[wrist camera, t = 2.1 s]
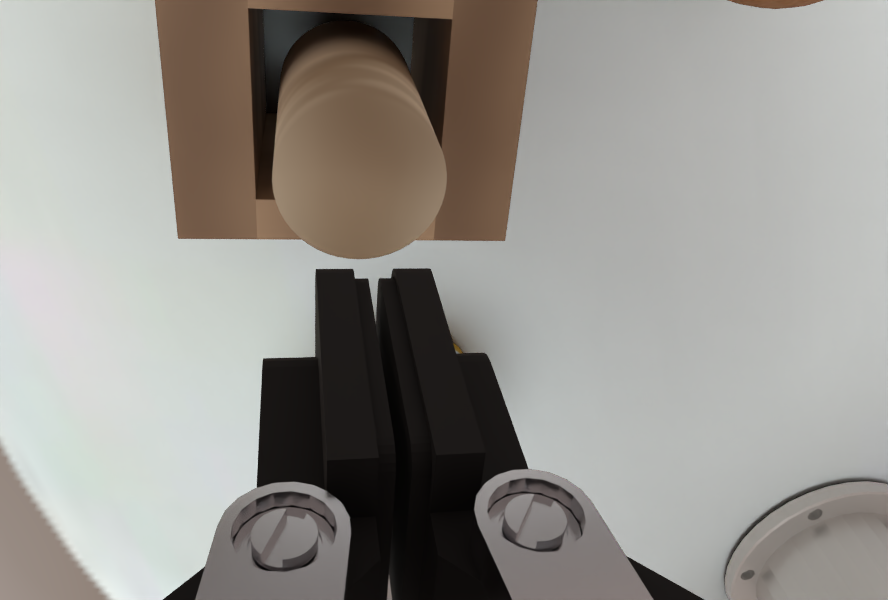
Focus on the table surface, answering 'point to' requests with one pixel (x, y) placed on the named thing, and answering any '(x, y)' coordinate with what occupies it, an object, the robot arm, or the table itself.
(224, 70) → the socket block
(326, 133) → the peg birch
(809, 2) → the onion
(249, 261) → the table surface
